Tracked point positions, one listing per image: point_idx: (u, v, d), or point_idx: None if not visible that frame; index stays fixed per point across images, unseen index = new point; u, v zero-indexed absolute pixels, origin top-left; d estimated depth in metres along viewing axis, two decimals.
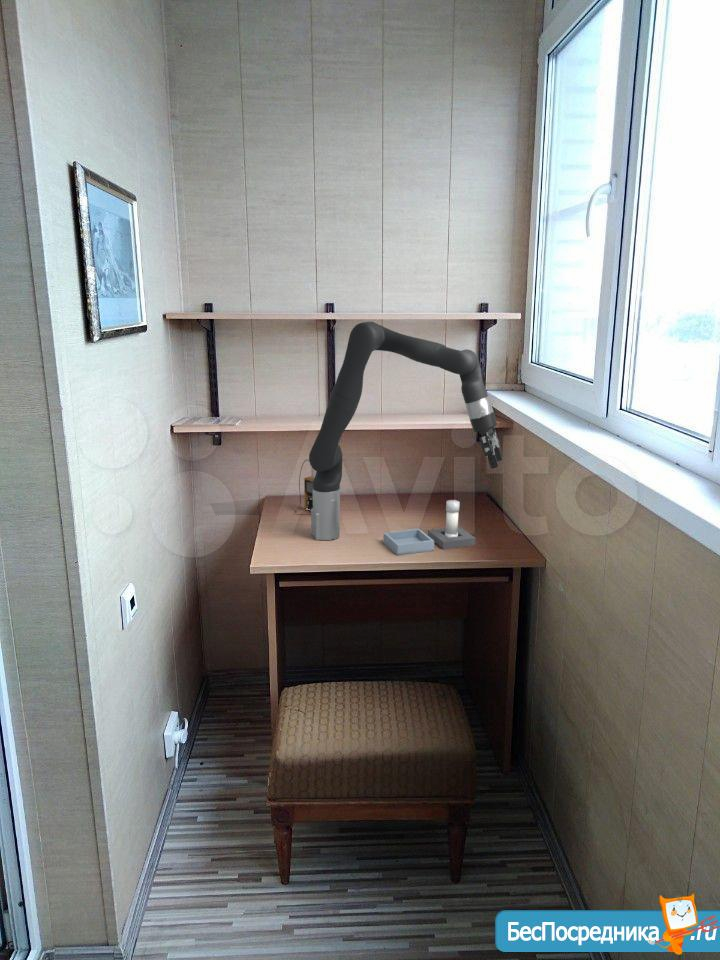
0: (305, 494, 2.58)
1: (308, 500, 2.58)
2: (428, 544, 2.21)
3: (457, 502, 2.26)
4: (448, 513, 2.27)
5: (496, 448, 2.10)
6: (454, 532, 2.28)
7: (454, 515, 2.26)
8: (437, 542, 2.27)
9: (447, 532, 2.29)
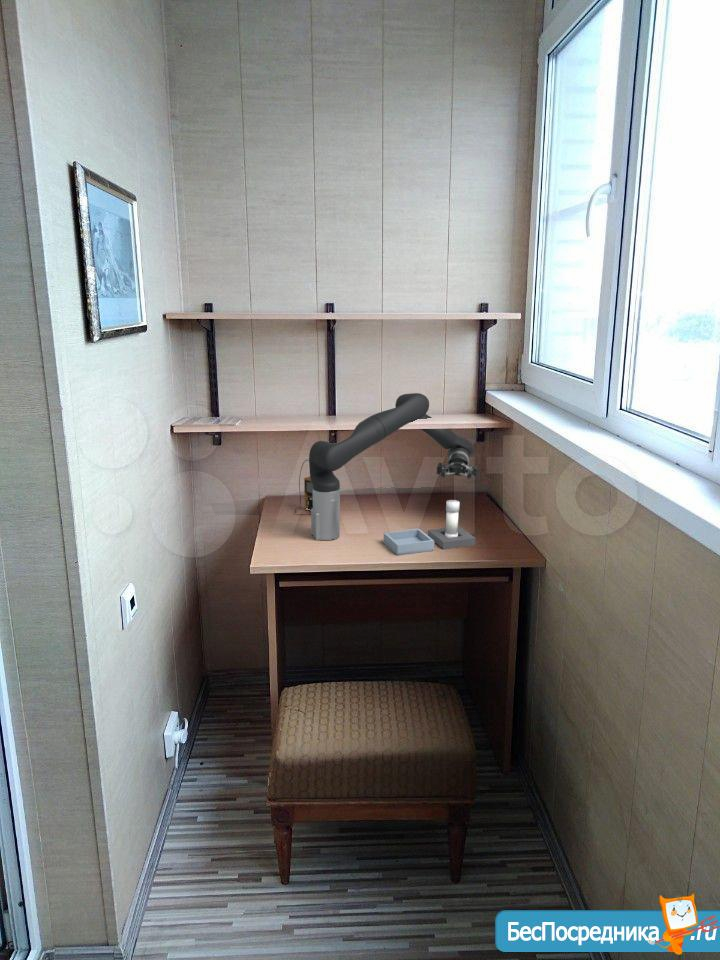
0: (305, 494, 2.58)
1: (308, 500, 2.58)
2: (428, 544, 2.21)
3: (457, 502, 2.26)
4: (448, 513, 2.27)
5: (445, 472, 2.39)
6: (454, 532, 2.28)
7: (454, 515, 2.26)
8: (437, 542, 2.27)
9: (447, 532, 2.29)
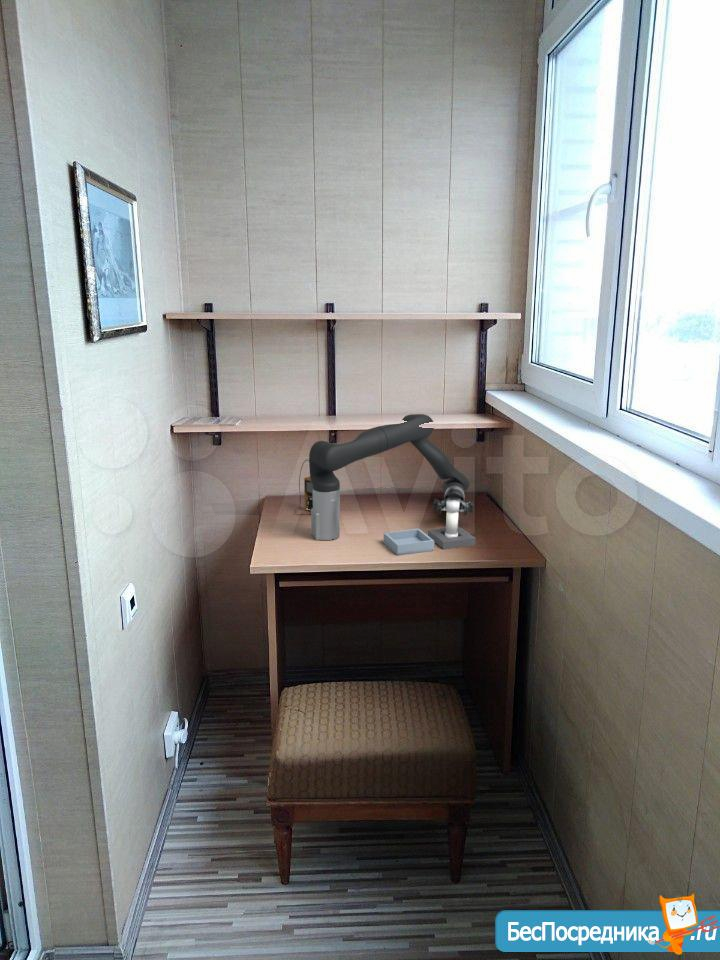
0: (305, 494, 2.58)
1: (308, 500, 2.58)
2: (428, 544, 2.21)
3: (457, 502, 2.26)
4: (448, 513, 2.27)
5: (441, 508, 2.39)
6: (454, 532, 2.28)
7: (454, 515, 2.26)
8: (437, 542, 2.27)
9: (447, 532, 2.29)
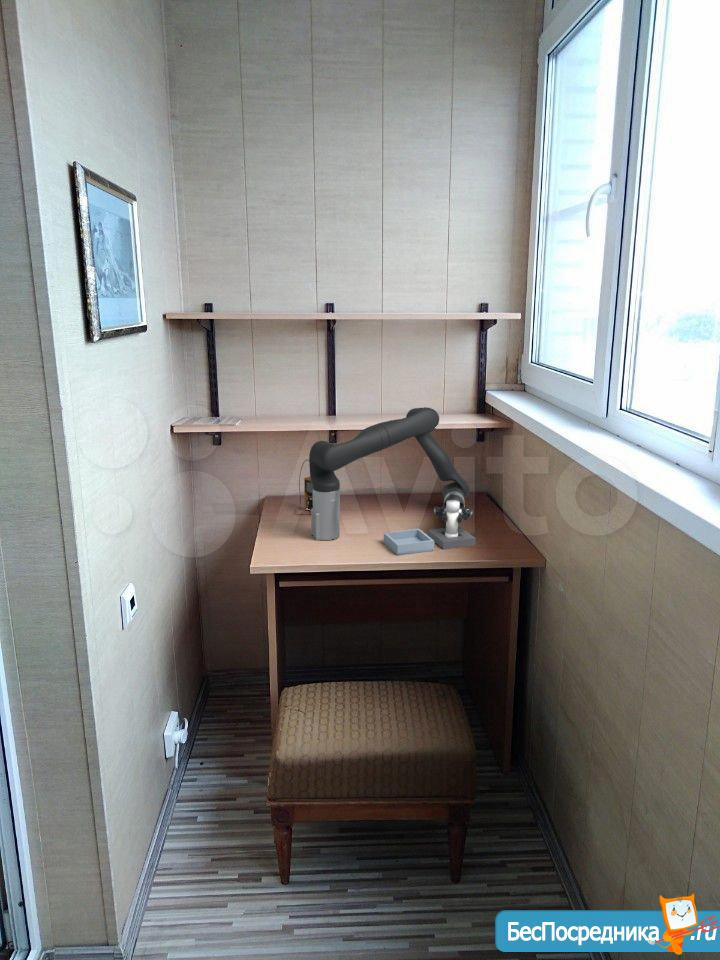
0: (305, 494, 2.58)
1: (308, 500, 2.58)
2: (428, 544, 2.21)
3: (457, 502, 2.26)
4: (448, 513, 2.27)
5: None
6: (454, 532, 2.28)
7: (454, 515, 2.26)
8: (437, 542, 2.27)
9: (447, 532, 2.29)
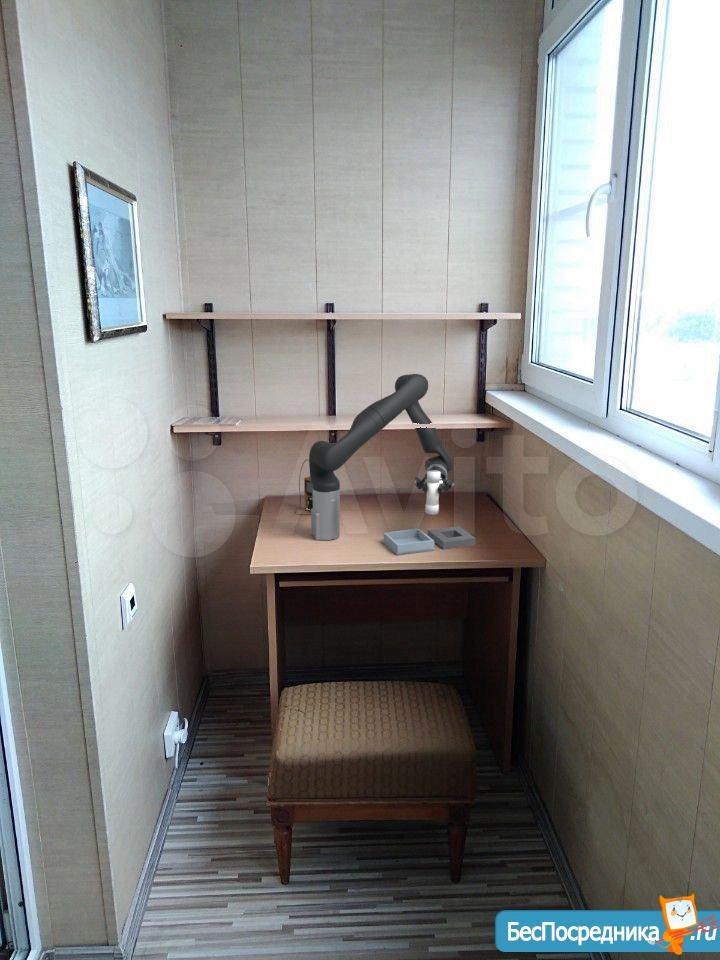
0: (305, 494, 2.58)
1: (308, 500, 2.58)
2: (428, 544, 2.21)
3: (438, 472, 2.20)
4: (429, 483, 2.21)
5: None
6: (435, 503, 2.22)
7: (435, 485, 2.20)
8: (437, 542, 2.27)
9: (428, 503, 2.23)
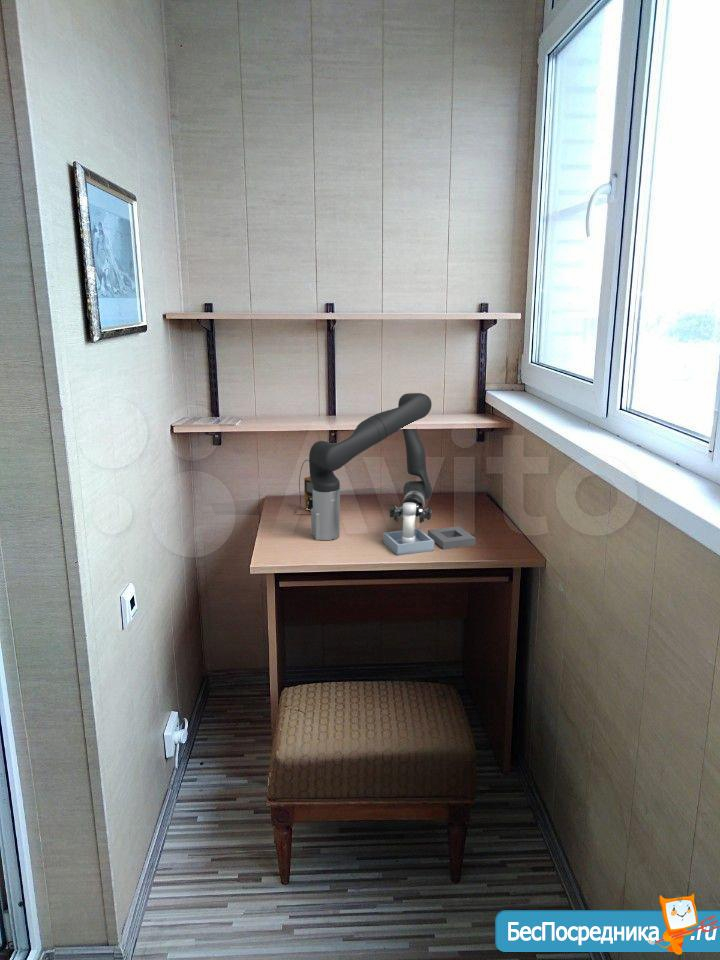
0: (305, 494, 2.58)
1: (308, 500, 2.58)
2: (428, 544, 2.21)
3: (414, 504, 2.21)
4: (404, 516, 2.21)
5: (398, 515, 2.25)
6: (411, 535, 2.22)
7: (410, 518, 2.20)
8: (437, 542, 2.27)
9: (404, 535, 2.23)
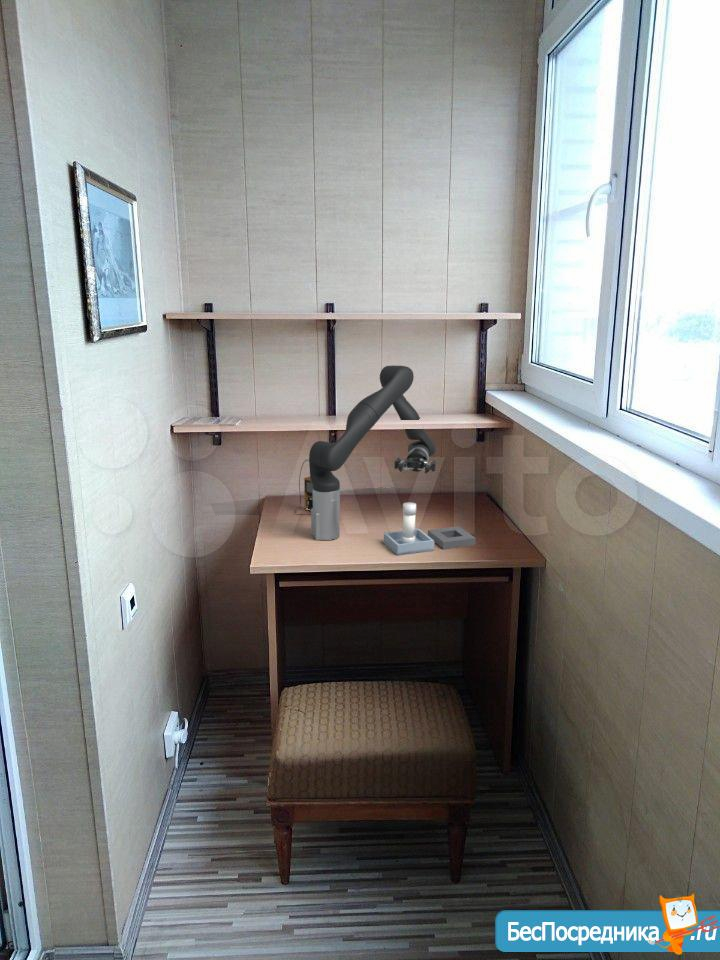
0: (305, 494, 2.58)
1: (308, 500, 2.58)
2: (428, 544, 2.21)
3: (414, 504, 2.21)
4: (404, 516, 2.21)
5: (402, 467, 2.34)
6: (411, 535, 2.22)
7: (410, 518, 2.21)
8: (437, 542, 2.27)
9: (404, 535, 2.23)
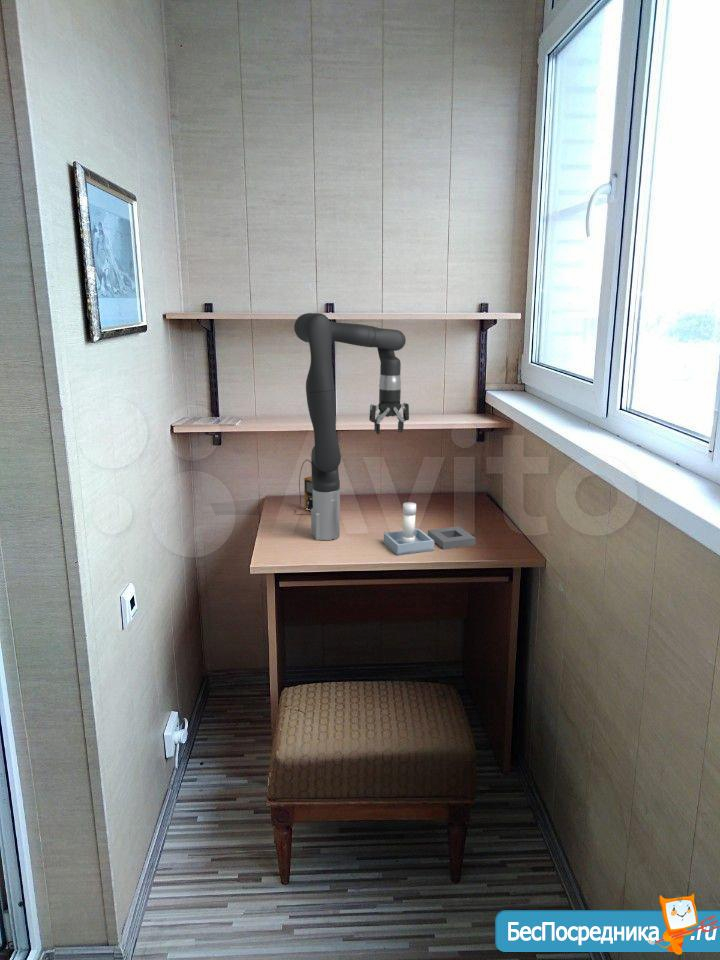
0: (305, 494, 2.58)
1: (308, 500, 2.58)
2: (428, 544, 2.21)
3: (414, 504, 2.21)
4: (404, 516, 2.21)
5: None
6: (411, 535, 2.22)
7: (410, 518, 2.21)
8: (437, 542, 2.27)
9: (404, 535, 2.23)
